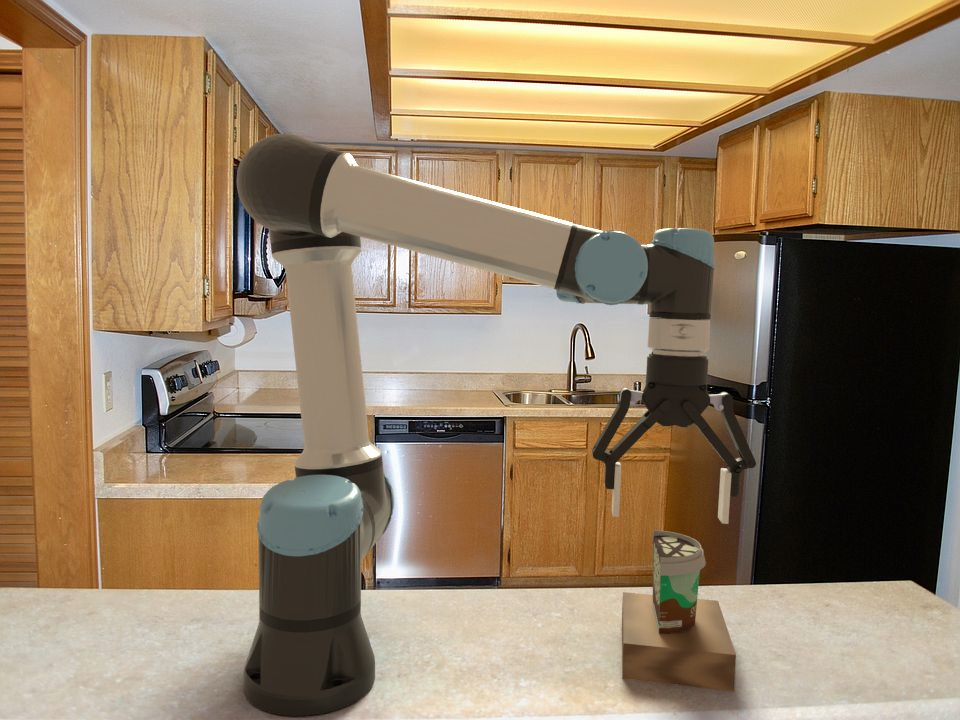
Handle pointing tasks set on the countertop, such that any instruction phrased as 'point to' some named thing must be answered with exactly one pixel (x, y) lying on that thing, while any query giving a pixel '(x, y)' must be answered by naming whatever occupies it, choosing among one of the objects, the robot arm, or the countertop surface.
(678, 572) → the food container
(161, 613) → the countertop surface
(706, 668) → the walnut block
